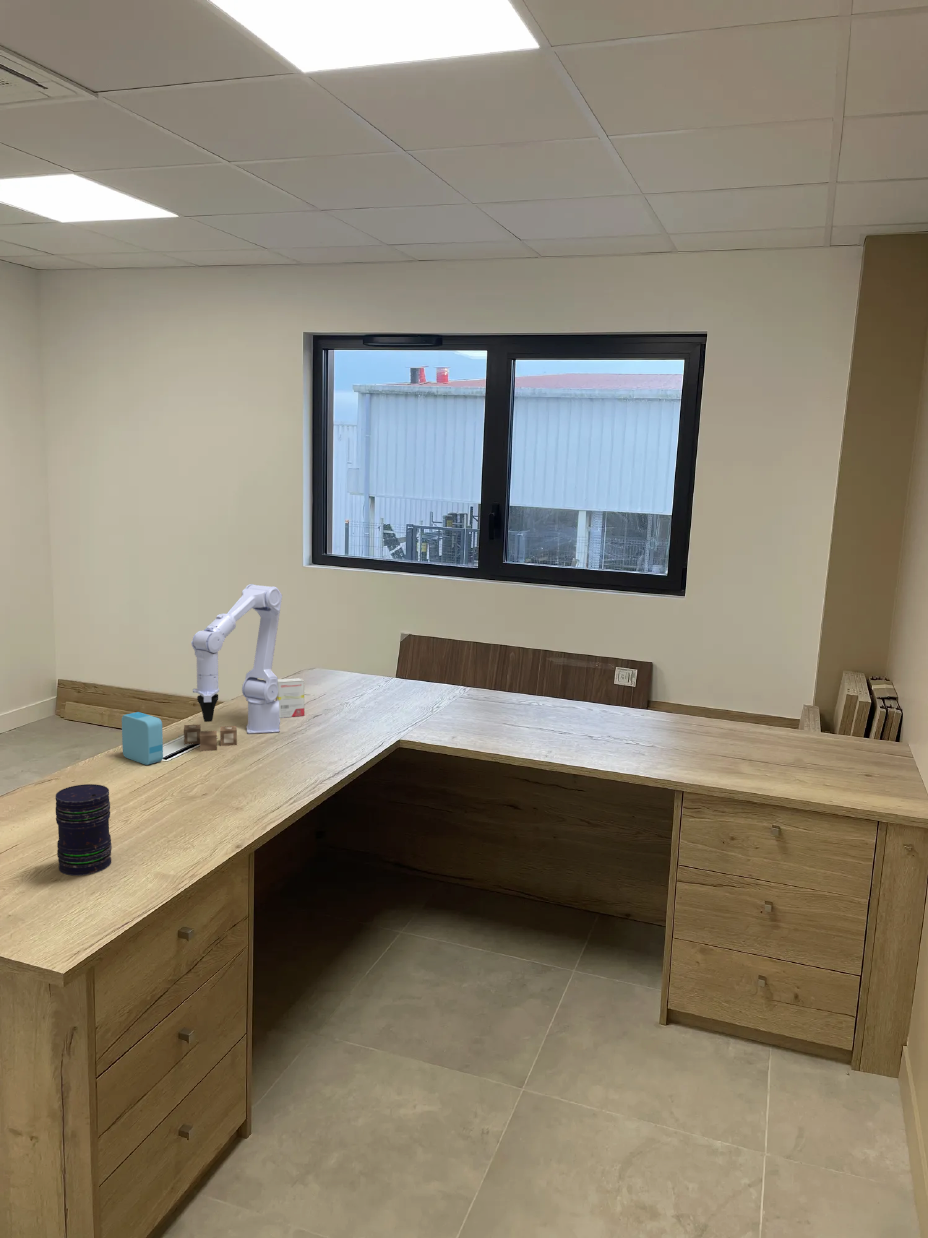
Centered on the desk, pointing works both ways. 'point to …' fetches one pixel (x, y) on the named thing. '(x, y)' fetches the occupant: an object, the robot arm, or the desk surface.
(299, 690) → the ink box
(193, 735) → the marked block 1
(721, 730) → the desk surface
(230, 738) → the marked block 2
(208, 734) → the plain block
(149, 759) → the data package
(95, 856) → the dark blue barrel
